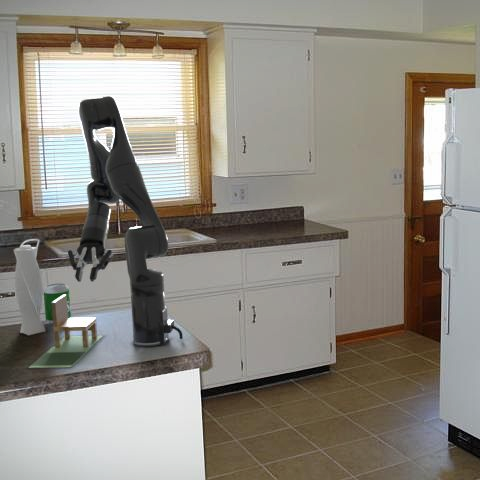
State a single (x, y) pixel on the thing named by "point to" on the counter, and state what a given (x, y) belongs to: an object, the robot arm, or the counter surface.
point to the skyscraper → (29, 288)
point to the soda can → (51, 295)
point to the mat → (65, 353)
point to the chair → (70, 323)
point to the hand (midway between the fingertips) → (85, 279)
